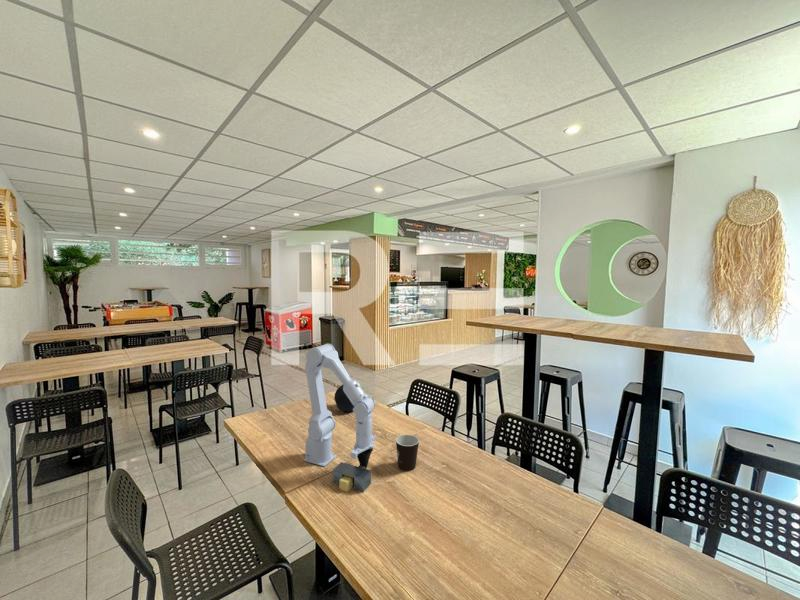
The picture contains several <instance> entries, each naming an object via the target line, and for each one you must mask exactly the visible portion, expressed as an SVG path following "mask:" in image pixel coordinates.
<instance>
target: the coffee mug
mask: <svg viewBox="0 0 800 600" xmlns="http://www.w3.org/2000/svg"><path fill="white" fill-rule="evenodd" d="M419 443H420V439H419V437H417V436H416V435H413V434H400V435H398V436H397V437H396V438H395V445H396V457H397V465H398V468H399V470H401V471H403V472H411V471H414V470H415V469H416V465H417V460H418V459H417V457H418V450H419Z"/></svg>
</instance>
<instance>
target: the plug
mask: <svg viewBox="0 0 800 600" xmlns="http://www.w3.org/2000/svg"><path fill="white" fill-rule="evenodd" d="M357 467H361V468H364V469H365V466H361V465H360V464H359V465H358V466H357ZM338 485H339V487H338V488H339V489H340V490H342V491H344V492H349V491H350V490H351V489H352V488H353V487H354V486H353V485H354V478H353V477H349V476H346V475H344V476H343V477H342V478H341V479H340V480H339V484H338Z"/></svg>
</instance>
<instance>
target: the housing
mask: <svg viewBox="0 0 800 600" xmlns="http://www.w3.org/2000/svg"><path fill="white" fill-rule="evenodd" d="M344 475H346V476H349V477H353V478H354V484H353V485H354V486H353V487H354V488H353V489H354V490H357V491H359V492H362V493H364V492H366V490H367V489H368V488H369V486H370V485H372V470H371V469H368V468H366V469H364V468H361V467H358V466H357V465H353V464H350V463H346V462H342V461H341V462H339V463H338V464H337V465H336V466H335V467H334V468H333V469H332V483H334V484H338V485H339V480H340V479H341V478H342V477H343V476H344Z"/></svg>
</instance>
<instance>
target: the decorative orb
mask: <svg viewBox="0 0 800 600" xmlns="http://www.w3.org/2000/svg"><path fill="white" fill-rule="evenodd" d="M334 403H335V405H336V407H337V409H339V410H341V411H342V412H344V411H347V412H348V413H349V412H353V408H354V406H353V404H352V403H351V401H350V400H349V398H348V397H347V395H346V394H345V392H344V391H343V384H341V385H340V386H339V387H338V388H337V389H336V391H335V392H334Z"/></svg>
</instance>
